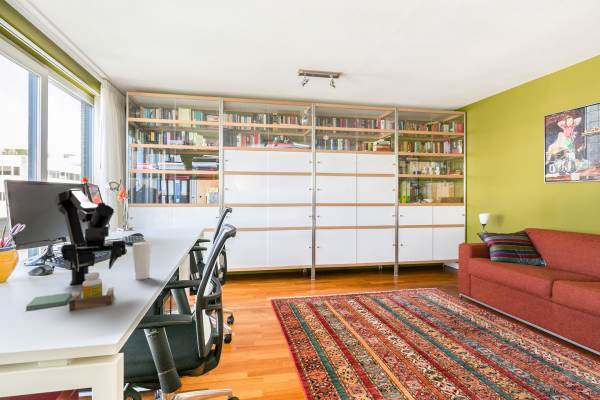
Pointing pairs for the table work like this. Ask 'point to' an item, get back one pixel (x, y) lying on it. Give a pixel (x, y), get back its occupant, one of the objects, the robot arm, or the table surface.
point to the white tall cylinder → (141, 259)
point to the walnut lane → (90, 301)
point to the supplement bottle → (92, 285)
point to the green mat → (49, 301)
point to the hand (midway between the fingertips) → (93, 270)
